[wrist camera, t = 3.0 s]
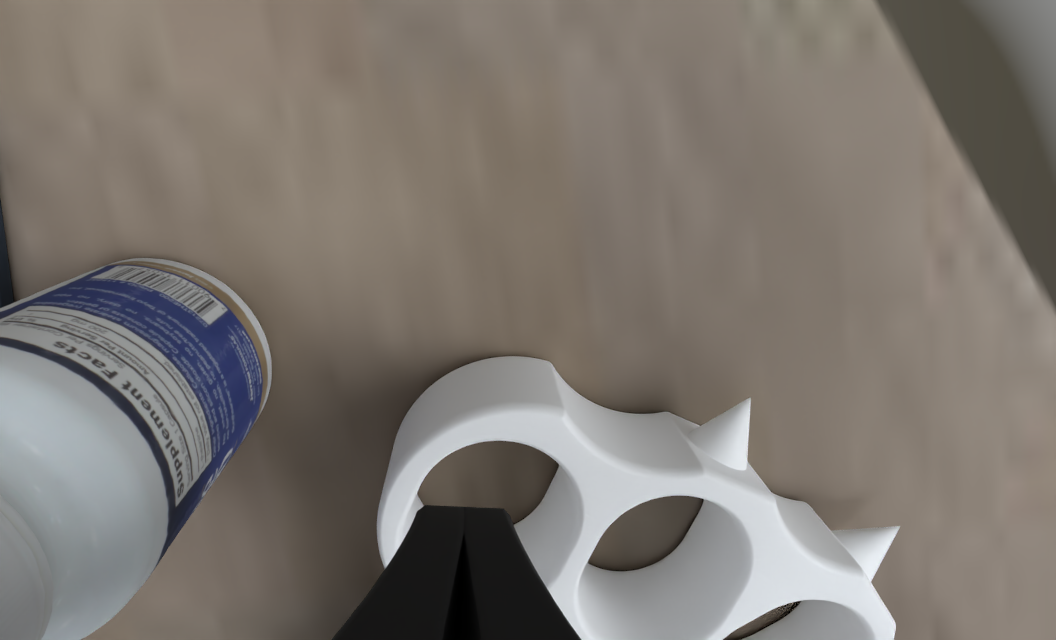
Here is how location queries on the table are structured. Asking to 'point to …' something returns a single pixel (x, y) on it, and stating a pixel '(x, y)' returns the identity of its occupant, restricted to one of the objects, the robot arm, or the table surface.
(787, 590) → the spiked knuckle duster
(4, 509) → the pill bottle
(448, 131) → the table surface
